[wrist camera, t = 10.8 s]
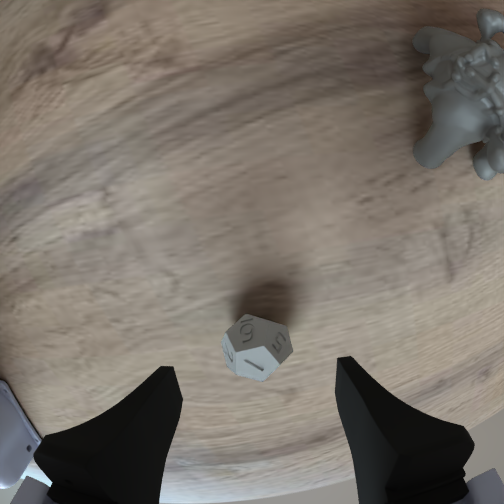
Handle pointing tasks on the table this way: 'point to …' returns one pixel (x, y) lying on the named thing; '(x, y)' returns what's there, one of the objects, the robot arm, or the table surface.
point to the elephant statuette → (464, 95)
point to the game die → (255, 347)
